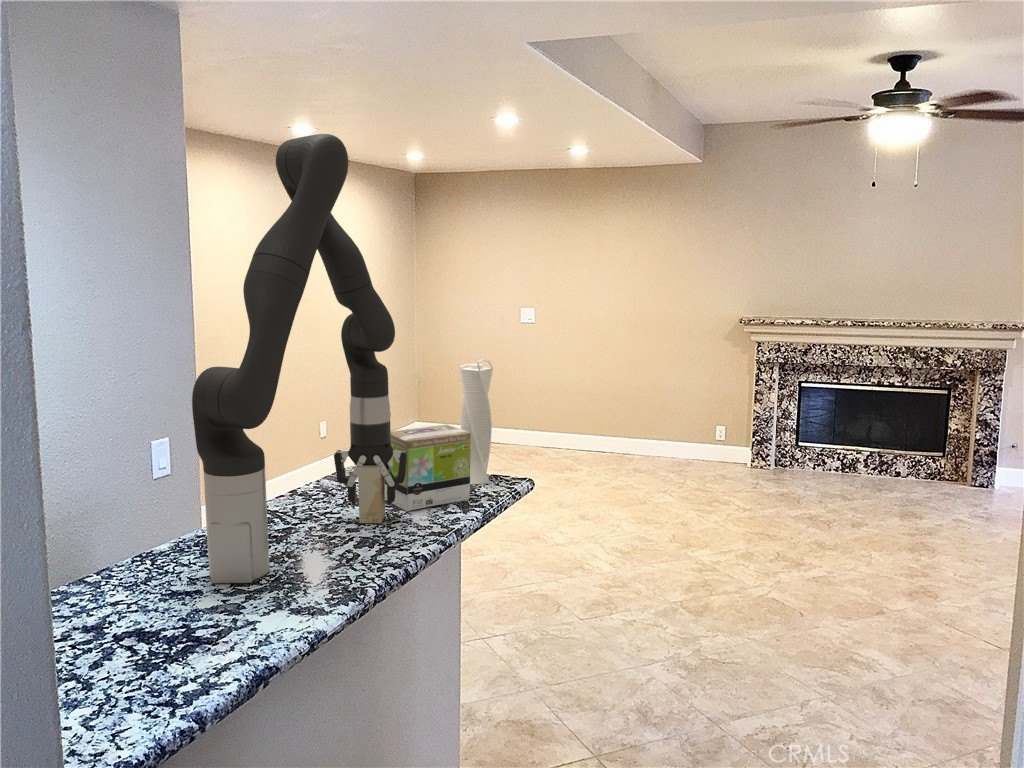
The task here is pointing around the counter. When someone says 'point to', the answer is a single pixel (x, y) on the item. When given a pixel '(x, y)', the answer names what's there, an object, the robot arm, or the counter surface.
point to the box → (371, 494)
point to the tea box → (431, 466)
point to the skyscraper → (477, 417)
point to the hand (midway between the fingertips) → (372, 503)
